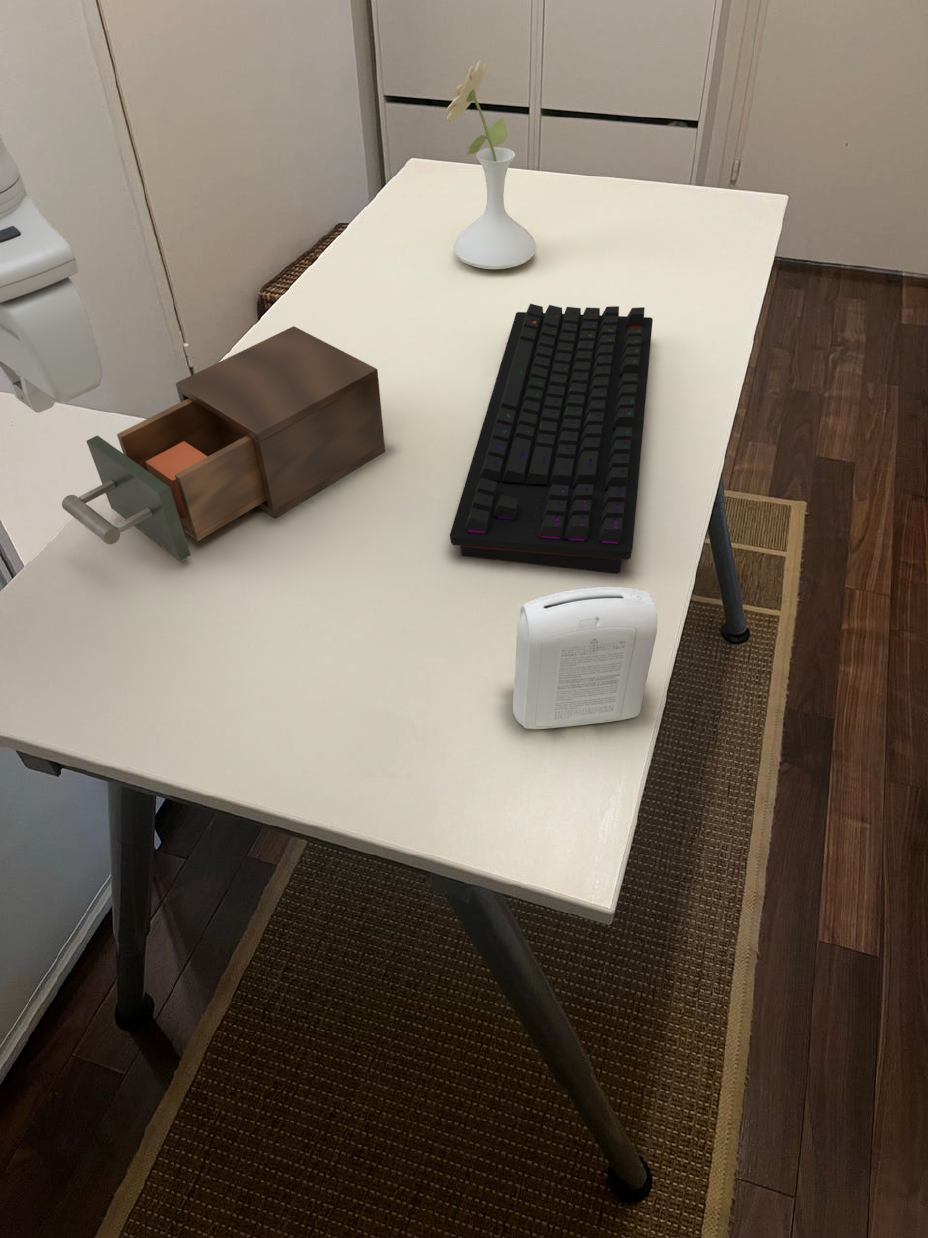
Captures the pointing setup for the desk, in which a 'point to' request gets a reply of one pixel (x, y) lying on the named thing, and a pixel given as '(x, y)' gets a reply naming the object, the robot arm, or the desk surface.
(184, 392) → the cabinet
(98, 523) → the drawer
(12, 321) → the robot arm
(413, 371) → the desk surface
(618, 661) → the photo printer
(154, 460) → the block
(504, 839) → the desk surface
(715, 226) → the desk surface
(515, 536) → the keyboard
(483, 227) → the flower in vase
